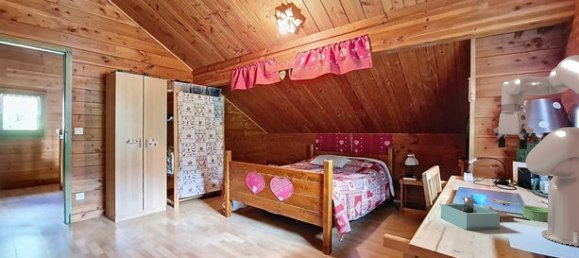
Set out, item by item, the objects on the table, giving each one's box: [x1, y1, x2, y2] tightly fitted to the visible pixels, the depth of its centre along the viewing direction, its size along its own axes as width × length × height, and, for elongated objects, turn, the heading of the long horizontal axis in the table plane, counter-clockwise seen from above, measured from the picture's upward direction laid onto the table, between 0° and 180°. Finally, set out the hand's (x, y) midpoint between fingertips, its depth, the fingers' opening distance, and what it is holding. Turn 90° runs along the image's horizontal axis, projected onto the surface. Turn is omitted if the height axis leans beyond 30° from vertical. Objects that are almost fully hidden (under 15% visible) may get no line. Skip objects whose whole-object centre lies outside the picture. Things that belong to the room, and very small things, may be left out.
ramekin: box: [521, 205, 548, 223], centre depth 117 cm, size 9×9×4 cm
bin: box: [440, 203, 501, 231], centre depth 110 cm, size 14×14×6 cm
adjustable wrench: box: [490, 198, 548, 210], centre depth 136 cm, size 25×6×2 cm, turn 44°
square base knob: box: [461, 196, 477, 213], centre depth 110 cm, size 5×5×9 cm
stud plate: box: [484, 205, 515, 222], centre depth 119 cm, size 12×12×5 cm
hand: (511, 148), depth 118 cm, fingers open, 9 cm apart
